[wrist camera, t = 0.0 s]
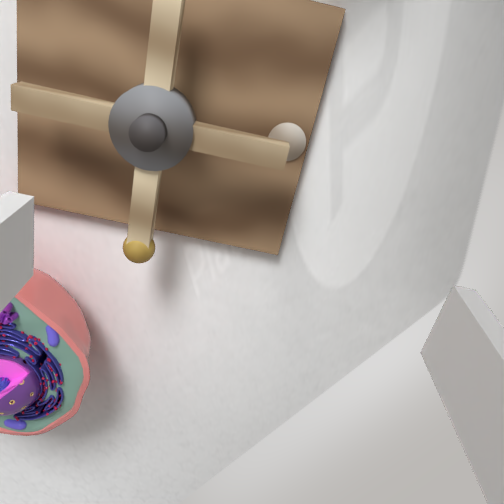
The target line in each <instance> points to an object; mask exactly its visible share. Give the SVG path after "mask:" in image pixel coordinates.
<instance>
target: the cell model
mask: <svg viewBox="0 0 504 504" xmlns="http://www.w3.org/2000/svg"><path fill="white" fill-rule="evenodd" d="M90 347H91V338H90V333H89V330H88V326H87V323H86V320H85V318H84V315H83V313H82V311H81V309H80V307H79V305H78V304H77V303H76V301H75V300H74V299H73V297H72V296H71V295H70V294H69V293H68V292H67V291H66V290H65V289H64V288H63V287H62V286H61V285H60V284H59V283H58V282H57V281H56V280H55V279H54V278H52V277H51V276H50V275H48V274H46V273H44V272H42V271H40V270H38V269H35V268H33V276H32V277H31V278H30V280H29V281H28V282H27V283H26V284H25V285H24V286H23V288H22V289H21V290H20V291H19V292H18V293H17V294H16V295H15V297H14V298H13V299H12V300H11V301H10V302H9V303H8V305H7V306H6V307H5V308H4V309H3V310H2V311H1V313H0V433H5V434H11V435H23V436H29V435H38V434H42V433H45V432H47V431H49V430H51V429H53V428H55V427H57V426H59V425H60V424H62V423H63V422H65V421H67V420H68V419H70V418H71V417H73V416H74V415H75V414H76V413H77V411H78V409H79V407H80V404H81V400H82V397H83V394H84V392H85V390H86V388H87V386H88V384H89V379H90V372H89V365H88V358H89V352H90Z"/></svg>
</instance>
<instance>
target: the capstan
mask: <svg viewBox="0 0 504 504" xmlns="http://www.w3.org/2000/svg"><path fill="white" fill-rule="evenodd" d="M184 8H185V0H153V5H152V14H151V23H150V33H149V42H148V51H147V60H146V69H145V78H144V83H141V84H139V85H137V86H135V87H133V88H132V89H130V90H128V91H127V92H125V93H123V94H122V95H121V96H120V97H119V98H118V99H117V100H116V102H115V103H114V102H110V101H106V100H101V99H97V98H92V97H88V96H84V95H79V94H75V93H70V92H66V91H62V90H57V89H53V88H48V87H44V86H40V85H35V84H31V83H26V82H22V81H21V82H18V83H14V84H11V110H12V111H16V112H21V113H25V114H30V115H34V116H39V117H43V118H48V119H52V120H57V121H61V122H66V123H70V124H75V125H79V126H84V127H88V128H93V129H97V130H102V131H106V132H109V134H110V138H111V141H112V143H113V145H114V147H115V149H116V150H117V152H118V153H119V154H120V155H121V156H122V157H123V158H124V159H125V160H126V161H127V162H129V163H130V164H132V165H133V166H135V170H134V179H133V188H132V197H131V207H130V216H129V225H128V234H127V238H126V239H125V241H124V243H123V252H124V254H125V256H126V257H127V259H129V260H130V261H132V262H134V263H144V262H146V261H148V260H149V259H150V258H151V257H152V256H153V254H154V252H155V244H154V241H153V234H154V227H155V220H156V212H157V205H158V198H159V190H160V183H161V176H162V170H166V169H169V168H171V167H173V166H175V165H177V164H178V163H179V162H180V161H181V160H182V159H183V158H184V157H185V156H186V154H187V152H188V151H189V150H192V151H196V152H201V153H205V154H210V155H214V156H219V157H223V158H228V159H232V160H237V161H241V162H246V163H250V164H255V165H259V166H264V167H268V168H273V169H277V170H282V171H284V168H285V164H286V160H287V156H288V152H289V148H290V146H289V142H286V141H282V140H278V139H273V138H269V137H264V136H260V135H256V134H251V133H247V132H242V131H238V130H234V129H229V128H225V127H220V126H216V125H212V124H207V123H203V122H198V121H197V120H196V115H195V112H194V109H193V107H192V105H191V103H190V101H189V100H188V99H187V97H186V96H185V95H184V94H183V93H182V92H180V91H179V90H178V89H176V88H175V87H174V81H175V74H176V66H177V59H178V52H179V44H180V37H181V30H182V22H183V15H184Z"/></svg>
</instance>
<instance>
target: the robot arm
mask: <svg viewBox="0 0 504 504" xmlns="http://www.w3.org/2000/svg"><path fill="white" fill-rule="evenodd" d="M33 263H34V196H30V195H25V194H20V193H15V192H11V191H7V192H6V193H4V194H3V195H2V196H0V313H1V311H2V310H3V309H4V308H5V307H6V306H7V305H8V303H9V302H10V301H11V300H12V299H13V298H14V297H15V295H16V294H17V293H18V292H19V291H20V290H21V289H22V288H23V286H24V285H25V284H26V283H27V282H28V281H29V280H30V278H31V277H32V276H33ZM421 355H422V357H423V359H424V361H425V364H426V366H427V368H428V370H429V372H430V375H431V377H432V379H433V382H434V384H435V386H436V388H437V391H438V393H439V395H440V397H441V400H442V402H443V404H444V407H445V409H446V411H447V413H448V415H449V418H450V420H451V422H452V424H453V427H454V429H455V431H456V434H457V436H458V438H459V440H460V443H461V445H462V447H463V449H464V452H465V454H466V456H467V458H468V460H469V463H470V465H471V467H472V470H473V472H474V474H475V477H476V479H477V481H478V483H479V486H480V488H481V490H482V492H483V494H484V497H485V499H486V501H487V504H504V327H503V326H502V325H501V323H500V322H499V320H498V319H497V318H496V316H495V315H494V314H493V312H492V311H491V310H490V308H489V307H488V306H487V304H486V303H485V302H484V300H483V299H482V297H481V296H480V295H479V293H478V292H477V291H476V290H474V289H469V288H464V287H459V286H455V285H453V287H452V289H451V291H450V293H449V295H448V297H447V299H446V301H445V303H444V305H443V307H442V309H441V311H440V313H439V316H438V318H437V320H436V322H435V324H434V326H433V328H432V330H431V332H430V334H429V336H428V338H427V340H426V342H425V344H424V346H423V349H422V351H421Z"/></svg>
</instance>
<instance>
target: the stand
mask: <svg viewBox="0 0 504 504" xmlns="http://www.w3.org/2000/svg"><path fill="white" fill-rule="evenodd" d="M152 5H153V0H17V83H18V82H21V81H22V82H26V83H31V84H35V85H40V86H44V87H48V88H53V89H57V90H62V91H66V92H70V93H75V94H79V95H84V96H88V97H92V98H97V99H101V100H106V101H110V102H114V103H115V102H116V100H117V99H118V98H119V97H120V96H121V95H122V94H123V93H125V92H127V91H128V90H130V89H132V88H133V87H135V86H137V85H139V84H141V83H144V78H145V69H146V60H147V51H148V42H149V33H150V23H151V14H152ZM344 13H345V9H343V8H339V7H335V6H331V5H327V4H323V3H319V2H315V1H311V0H185V8H184V15H183V22H182V30H181V37H180V44H179V52H178V59H177V66H176V74H175V81H174V87H175V88H176V89H178V90H179V91H180V92H182V93H183V94H184V95H185V96H186V97H187V99H188V100H189V101H190V103H191V105H192V107H193V109H194V112H195V115H196V120H197V121H198V122H203V123H207V124H212V125H216V126H220V127H225V128H229V129H234V130H238V131H242V132H247V133H251V134H256V135H260V136H264V137H269V138H273V139H278V140H282V141H286V142H289V146H290V148H289V152H288V156H287V160H286V164H285V168H284V171H282V170H277V169H273V168H268V167H264V166H259V165H255V164H250V163H246V162H241V161H237V160H232V159H228V158H223V157H219V156H214V155H210V154H205V153H201V152H196V151H192V150H189V151H188V152H187V154H186V156H185V157H184V158H183V159H182V160H181V161H180V162H179V163H178V164H177V165H175V166H173V167H171V168H169V169H166V170H162V176H161V183H160V190H159V198H158V205H157V212H156V220H155V227H154V229H155V230H160V231H165V232H170V233H174V234H179V235H184V236H189V237H194V238H198V239H203V240H208V241H213V242H217V243H222V244H227V245H232V246H237V247H241V248H246V249H251V250H256V251H261V252H265V253H270V254H275V255H278V252H279V249H280V245H281V241H282V238H283V234H284V231H285V227H286V223H287V220H288V216H289V212H290V209H291V205H292V202H293V198H294V194H295V191H296V187H297V183H298V180H299V176H300V173H301V169H302V165H303V162H304V158H305V154H306V151H307V147H308V144H309V140H310V136H311V133H312V129H313V125H314V122H315V118H316V115H317V111H318V107H319V104H320V100H321V96H322V93H323V89H324V86H325V82H326V78H327V75H328V71H329V67H330V64H331V60H332V56H333V53H334V49H335V46H336V42H337V38H338V35H339V31H340V27H341V24H342V20H343V17H344ZM134 170H135V166H133V165H132V164H130V163H129V162H127V161H126V160H125V159H124V158H123V157H122V156H121V155H120V154H119V153H118V152H117V150H116V149H115V147H114V145H113V143H112V141H111V138H110V134H109V132H106V131H102V130H97V129H93V128H88V127H84V126H79V125H75V124H70V123H66V122H61V121H57V120H52V119H48V118H43V117H39V116H34V115H30V114H25V113H21V112H18V193H20V194H25V195H30V196H34V204H36V205H40V206H45V207H50V208H55V209H60V210H64V211H69V212H74V213H79V214H83V215H88V216H93V217H98V218H103V219H107V220H112V221H117V222H122V223H127V224H129V216H130V207H131V197H132V188H133V179H134Z"/></svg>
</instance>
